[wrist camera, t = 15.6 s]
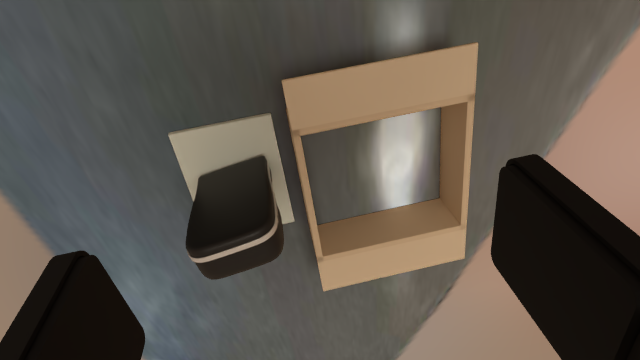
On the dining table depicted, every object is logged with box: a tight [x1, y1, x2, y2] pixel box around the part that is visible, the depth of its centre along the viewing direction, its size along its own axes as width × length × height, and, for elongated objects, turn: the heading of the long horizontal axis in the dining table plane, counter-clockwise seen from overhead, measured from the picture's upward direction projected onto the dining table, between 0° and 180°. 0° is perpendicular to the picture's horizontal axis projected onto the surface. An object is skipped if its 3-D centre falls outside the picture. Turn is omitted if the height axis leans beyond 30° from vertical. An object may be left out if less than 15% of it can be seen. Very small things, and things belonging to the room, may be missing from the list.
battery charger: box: [186, 156, 284, 279], centre depth 33 cm, size 7×4×11 cm, turn 107°
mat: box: [168, 113, 295, 224], centre depth 38 cm, size 9×12×1 cm
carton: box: [282, 42, 478, 291], centre depth 38 cm, size 15×22×5 cm
